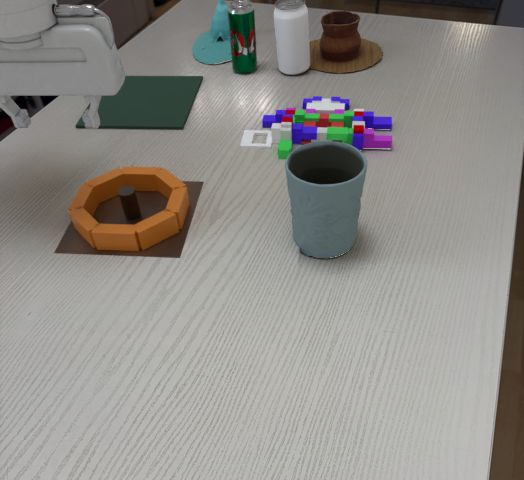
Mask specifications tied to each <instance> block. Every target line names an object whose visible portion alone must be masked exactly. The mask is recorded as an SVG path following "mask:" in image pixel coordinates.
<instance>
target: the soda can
mask: <svg viewBox="0 0 524 480" xmlns="http://www.w3.org/2000/svg"><path fill="white" fill-rule="evenodd" d="M228 7H229V8H228V21H229V33H230V44H231V56H232V61H231V65H232V70H233V71H234V72H235V73H236V74H240V75H246V74H247V75H248V74H251V73H253V72H255V71H256V69H257V68H258V53H257V36H256V17H255V7H254V6H253V2H252V1H251V0H232V1H229V3H228Z"/></svg>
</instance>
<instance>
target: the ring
mask: <svg viewBox="0 0 524 480" xmlns="http://www.w3.org/2000/svg"><path fill="white" fill-rule="evenodd" d="M182 181H183V180H181V179H180V178H178V177H177V176H175V174H173V173H171V172H170V171H169V170H168V169H167V168H165V167H164V168H162V166H122V168H121V167H116V168H115V169H112V170H110V171H108V172H105V173H103V174H101V175H99V176H96V177H94V178H91V179H89V180H87V181H84V184H81V185H80V187H79V189H78V191H77V192H76V194H75V195H74V198H73V200H72V202H71V203H70V204H69V207H68V209H67V210H68V214H69V216H70V219H71V220H72V222H73V224H74V227H75V229H76V230H77V231H78V232H79V233H80V234H81V235H82V236H83V237H84V238H85V239H86V240H87V242H88V243H89V244H90V245H91V246H92V247H93V248H96V247H97V250H120V251H139V250H140V248H141V249H142V250H145V249H147V248H149V247H151V246H153V245H155V244H157V243H159V242H160V241H162V240H164V239H166V238H168V237H170V236H172V235H174V234H176V233H178V232H179V229H182V227H183V224H184V221H185V218H186V215H187V212H188V208H189V205H190V202H189V196H188V191H187V187H186V185H185V184H184V183H183V182H182ZM124 186H132V187H134V189H135V191H159V192H160V193H162V194H163V195H164V196H165V197H166V198H168V199H169V201H168V204H167V206H166V209H165V210H163V211H161V212H159V213H157V214H155V215H153V216H151V217H149V218H147V219H145V220H143V221H141V222H139V223H137V224H135V225H128V224H99V223H98V222H97V221H96V220H95V219H94V218H93V215H94V213H95V211H96V209H97V207H98V205H99V203H101V202H104V201H106V200H108V199H110V198H112V197H115V196H117V195H118V190H119V189H120V188H122V187H124Z"/></svg>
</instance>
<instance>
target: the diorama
mask: <svg viewBox="0 0 524 480" xmlns="http://www.w3.org/2000/svg"><path fill="white" fill-rule="evenodd" d="M228 8H229V5H228V4H227V3H226V1H225V0H217V4H216V8H215V11H214V12H213V15H212V19H211V24H210V28H209V29H208V30H207V31H205V32H203V33H202V34H200V35H199V36H198V37H197V38H196V39H195V41H194V42H193V45H192V49H191V50H192V52H191V53H192V56H193V57H194V59H195V60H196V59H197V60H196V61H197V62H199V63H201V62H202V63H201V64H203V63H205V64H204V65H207V64H209V63H210V64H215V63H220V62H223V61H227V60H231V59H232V56H231V44H230V33H229V21H228Z"/></svg>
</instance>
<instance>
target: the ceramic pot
mask: <svg viewBox="0 0 524 480" xmlns="http://www.w3.org/2000/svg"><path fill="white" fill-rule="evenodd" d="M360 21H361V17H360V15H359V14H358V13H356V12H355V13H354V12H351V11H346V10H333V11H330V12H328V13H326V14H324V15H322V16H321V19H320V24H321V28H322V33H321V37H320V38H318V39H313V40H310V41H309V45H310V67H309V68H308V69H311V70H317V71H320V72H326V73H335V74H338V75H340V74H343V73H344V74H347V73H350V72H351V73H353V72H358V71H363V70H366V69H368V68H369V67H374V65H375V64H376V63H378V62H380V61H381V59H382V58H383V54H384V51H383V49H382V47H381V46H380V45H379V44H378V42H375V41H372V40H368V39H366V38H361V34H360V32H359V30H358V29H359V25H360Z"/></svg>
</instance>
